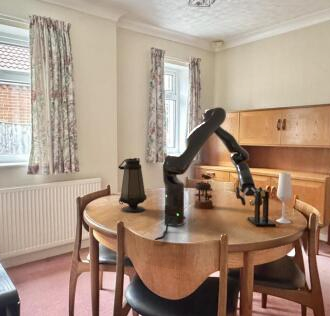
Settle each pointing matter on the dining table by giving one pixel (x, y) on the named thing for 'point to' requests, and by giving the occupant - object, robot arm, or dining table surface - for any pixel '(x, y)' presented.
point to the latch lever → (262, 195)
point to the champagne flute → (284, 193)
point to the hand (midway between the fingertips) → (252, 204)
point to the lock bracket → (263, 220)
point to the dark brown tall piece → (203, 187)
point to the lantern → (132, 186)
